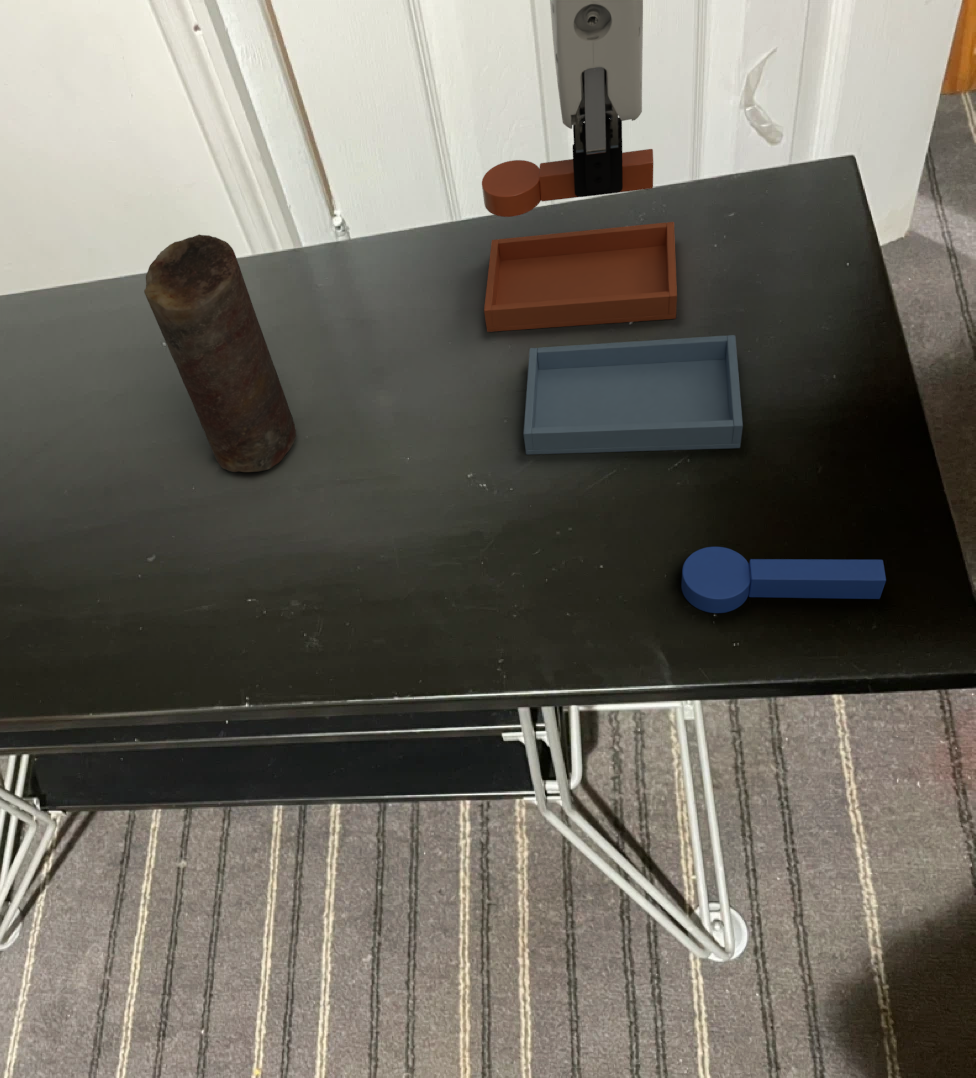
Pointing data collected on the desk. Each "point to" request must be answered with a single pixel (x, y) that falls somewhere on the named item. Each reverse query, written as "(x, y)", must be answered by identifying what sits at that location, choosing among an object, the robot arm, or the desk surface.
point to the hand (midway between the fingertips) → (598, 180)
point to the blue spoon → (774, 579)
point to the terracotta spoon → (551, 182)
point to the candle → (220, 352)
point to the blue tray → (634, 396)
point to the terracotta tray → (582, 278)
